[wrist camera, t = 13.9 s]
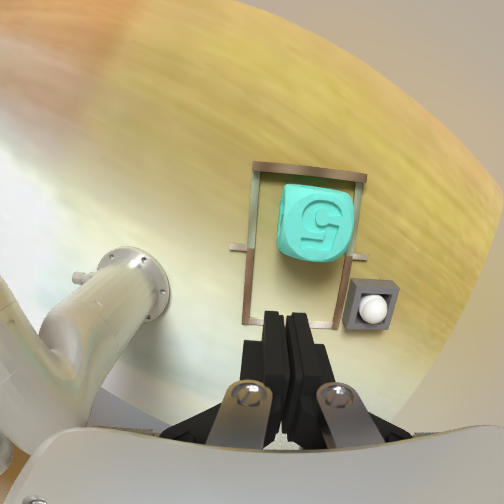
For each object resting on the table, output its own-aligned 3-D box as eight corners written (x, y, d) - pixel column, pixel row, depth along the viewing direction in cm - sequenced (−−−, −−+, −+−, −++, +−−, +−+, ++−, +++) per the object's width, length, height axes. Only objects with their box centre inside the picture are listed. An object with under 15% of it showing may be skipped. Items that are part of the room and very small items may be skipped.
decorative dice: (275, 240, 41) (278, 258, 33) (282, 182, 38) (287, 186, 31) (331, 246, 41) (346, 265, 33) (340, 190, 38) (358, 196, 31)
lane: (226, 321, 44) (225, 327, 43) (234, 160, 37) (233, 160, 36) (351, 327, 44) (354, 333, 42) (378, 176, 37) (383, 176, 36)
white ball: (353, 314, 43) (361, 329, 38) (359, 289, 41) (368, 302, 37) (377, 315, 42) (387, 329, 38) (384, 290, 41) (395, 303, 37)
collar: (342, 319, 44) (346, 329, 41) (350, 278, 42) (356, 286, 39) (381, 320, 44) (387, 329, 41) (391, 280, 42) (399, 288, 39)
